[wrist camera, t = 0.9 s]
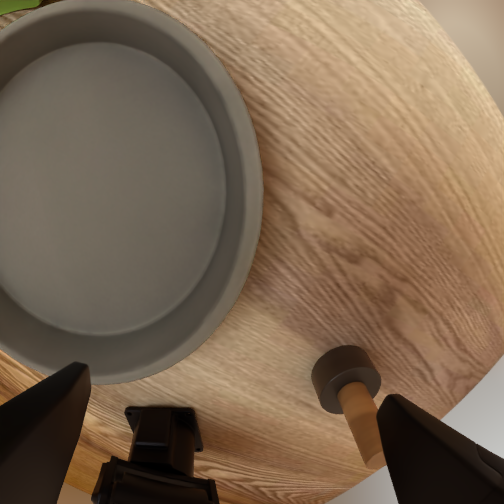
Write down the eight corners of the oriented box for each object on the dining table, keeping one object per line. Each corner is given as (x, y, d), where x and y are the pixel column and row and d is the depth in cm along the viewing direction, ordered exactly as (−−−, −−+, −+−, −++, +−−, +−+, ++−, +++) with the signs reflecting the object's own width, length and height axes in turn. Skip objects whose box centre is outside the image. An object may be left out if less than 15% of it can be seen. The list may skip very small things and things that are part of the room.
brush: (363, 385, 26) (406, 467, 17) (309, 395, 26) (339, 487, 17) (372, 340, 25) (428, 424, 15) (313, 349, 24) (353, 447, 15)
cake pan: (331, 209, 21) (357, 226, 16) (99, 392, 24) (85, 428, 20) (103, -36, 13) (82, -64, 9) (-71, 198, 17) (-102, 210, 13)
